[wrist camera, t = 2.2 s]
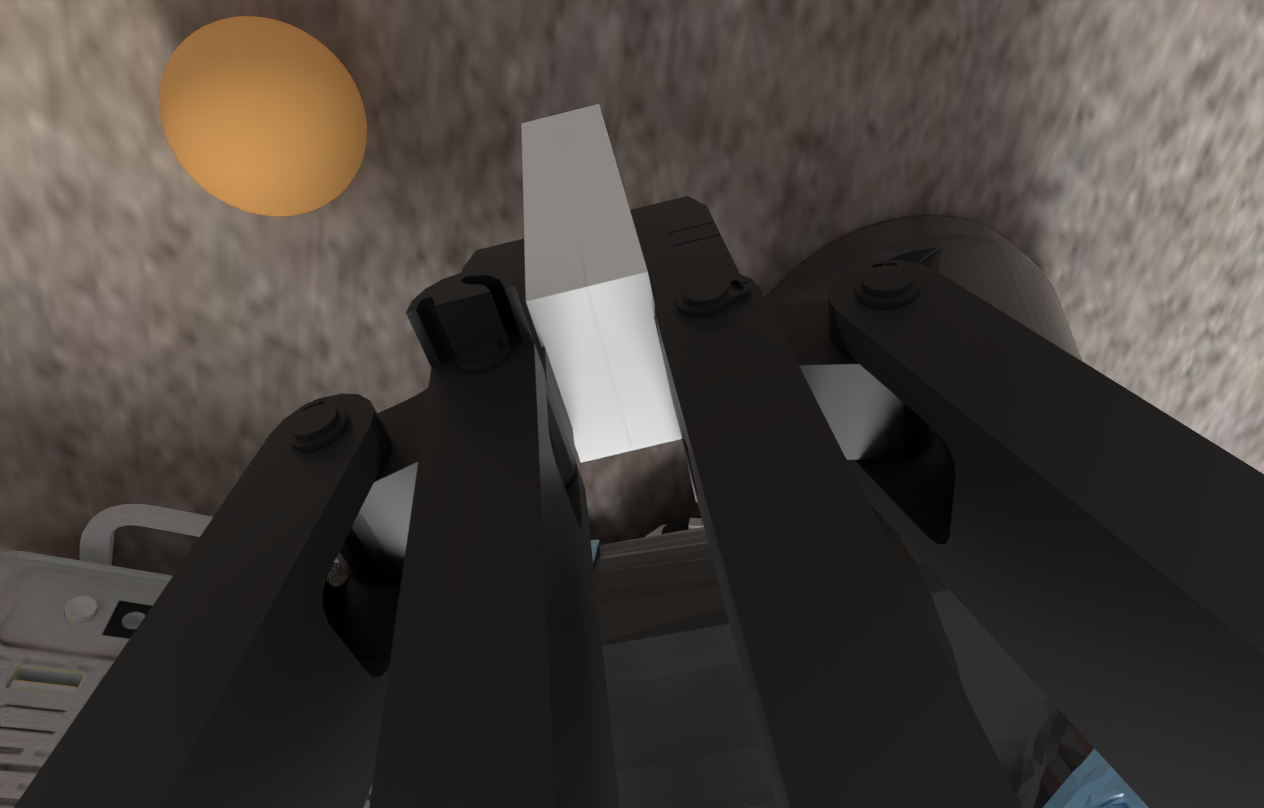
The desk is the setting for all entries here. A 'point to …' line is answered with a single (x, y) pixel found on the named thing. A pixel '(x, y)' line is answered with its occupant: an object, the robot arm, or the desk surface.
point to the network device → (69, 633)
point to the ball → (263, 116)
